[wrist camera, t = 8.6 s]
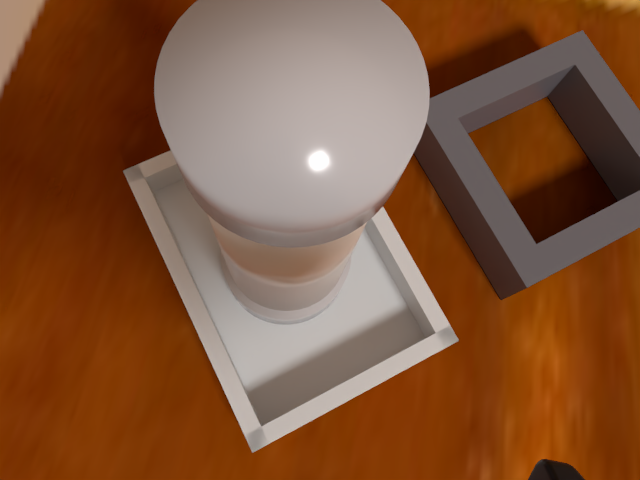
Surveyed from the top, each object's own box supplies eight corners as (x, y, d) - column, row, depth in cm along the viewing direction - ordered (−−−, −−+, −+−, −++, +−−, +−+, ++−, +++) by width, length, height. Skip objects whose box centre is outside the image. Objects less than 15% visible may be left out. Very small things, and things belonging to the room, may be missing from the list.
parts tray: (254, 447, 21) (252, 452, 19) (135, 190, 23) (122, 170, 21) (443, 346, 22) (458, 340, 20) (313, 113, 24) (315, 88, 23)
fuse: (283, 350, 21) (289, 274, 9) (200, 262, 22) (95, 74, 9) (369, 266, 22) (484, 92, 10) (287, 185, 23) (298, -74, 11)
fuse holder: (500, 300, 23) (527, 287, 20) (402, 134, 25) (415, 104, 22) (657, 215, 24) (699, 195, 22) (554, 64, 26) (582, 30, 24)
